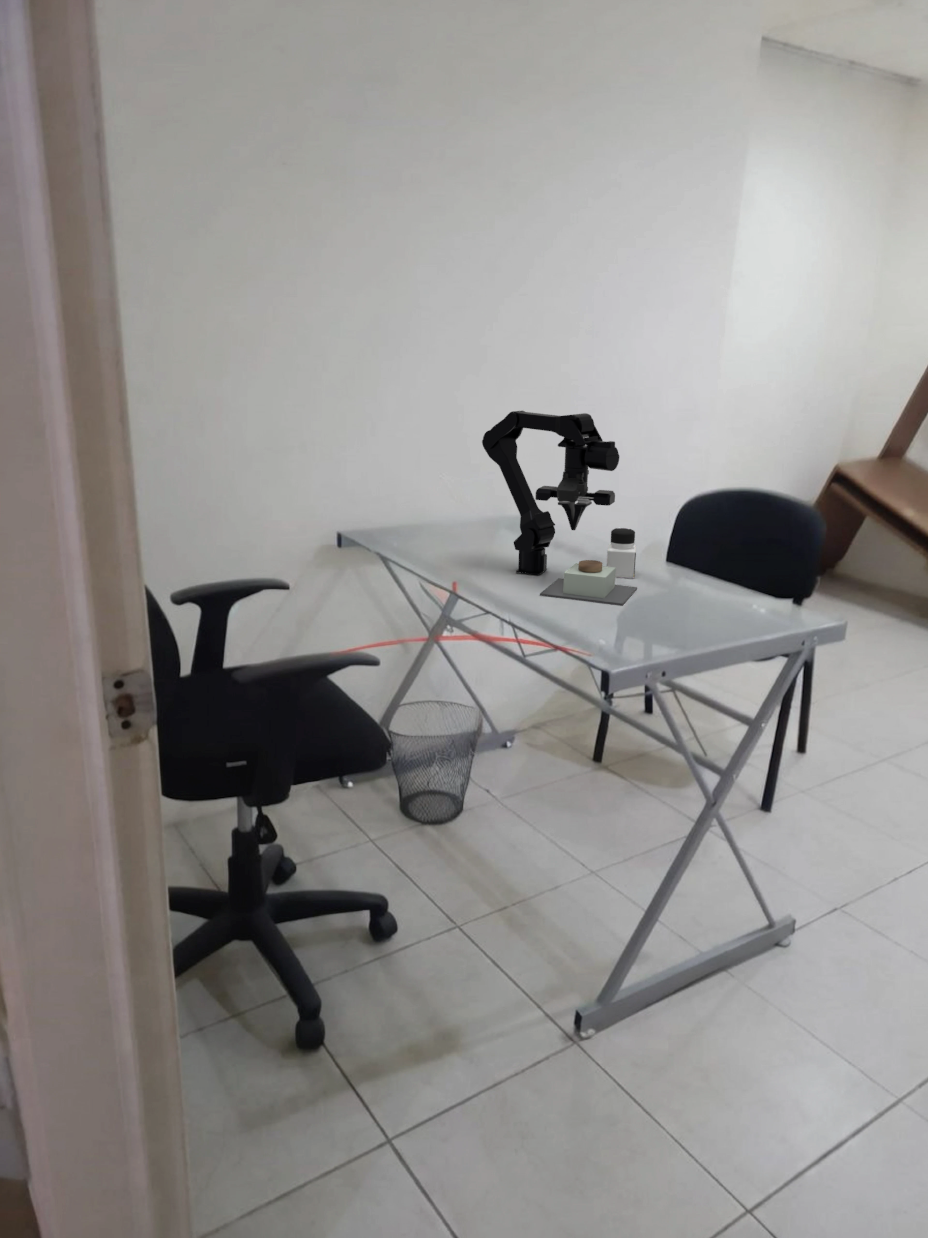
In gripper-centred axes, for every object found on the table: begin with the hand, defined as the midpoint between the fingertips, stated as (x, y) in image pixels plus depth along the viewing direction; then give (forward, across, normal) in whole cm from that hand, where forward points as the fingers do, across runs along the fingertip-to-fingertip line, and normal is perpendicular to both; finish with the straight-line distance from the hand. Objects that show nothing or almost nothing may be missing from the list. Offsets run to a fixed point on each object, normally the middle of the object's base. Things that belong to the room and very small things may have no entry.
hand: (573, 529), depth 214 cm
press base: (+13, +7, -8) cm, 17 cm away
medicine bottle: (+13, +10, +11) cm, 20 cm away
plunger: (+13, +7, -8) cm, 17 cm away
